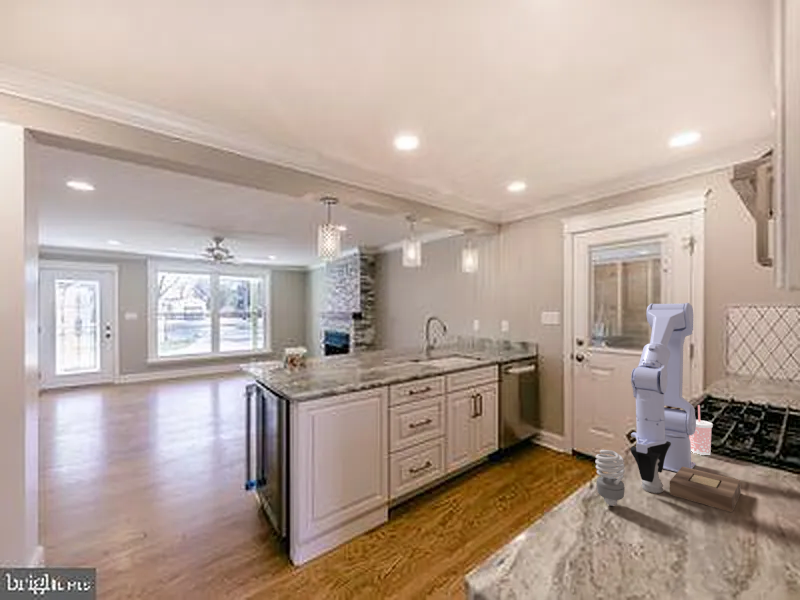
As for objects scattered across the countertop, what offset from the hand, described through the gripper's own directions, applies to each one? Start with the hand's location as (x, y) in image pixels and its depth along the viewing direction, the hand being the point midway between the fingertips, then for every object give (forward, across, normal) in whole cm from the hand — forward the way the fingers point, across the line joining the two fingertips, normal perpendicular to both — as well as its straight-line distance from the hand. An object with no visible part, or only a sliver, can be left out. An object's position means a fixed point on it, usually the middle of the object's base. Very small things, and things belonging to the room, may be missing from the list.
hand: (651, 475), depth 92 cm
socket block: (+3, -6, +9) cm, 11 cm away
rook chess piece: (+3, 0, 0) cm, 3 cm away
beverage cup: (+3, -36, +3) cm, 36 cm away
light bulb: (+3, +15, -4) cm, 16 cm away
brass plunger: (+1, -6, +9) cm, 11 cm away
